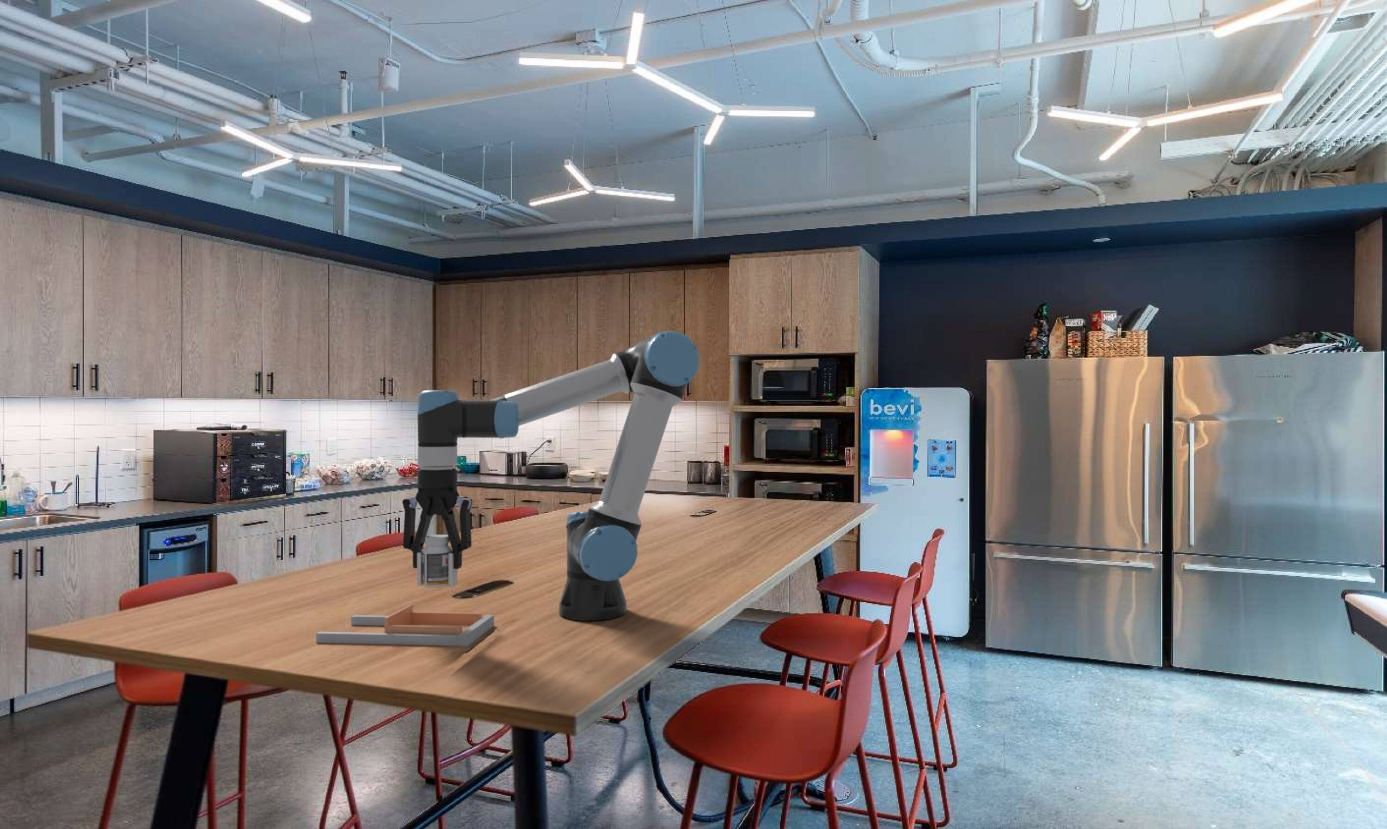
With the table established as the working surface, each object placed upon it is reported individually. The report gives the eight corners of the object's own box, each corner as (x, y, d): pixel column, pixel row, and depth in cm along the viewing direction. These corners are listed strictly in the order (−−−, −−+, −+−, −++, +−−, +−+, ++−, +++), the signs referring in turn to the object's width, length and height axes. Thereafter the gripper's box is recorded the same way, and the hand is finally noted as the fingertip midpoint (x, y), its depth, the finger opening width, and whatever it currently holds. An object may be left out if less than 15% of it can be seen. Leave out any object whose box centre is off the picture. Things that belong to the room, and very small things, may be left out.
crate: (481, 627, 167) (481, 605, 167) (461, 642, 156) (461, 619, 156) (409, 626, 168) (409, 604, 168) (384, 641, 157) (384, 617, 157)
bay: (493, 631, 169) (493, 614, 169) (467, 652, 154) (467, 634, 154) (354, 629, 171) (354, 612, 171) (315, 649, 156) (315, 631, 156)
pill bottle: (458, 584, 163) (458, 535, 163) (438, 590, 158) (438, 538, 158) (436, 582, 166) (436, 533, 166) (415, 587, 161) (416, 537, 161)
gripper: (489, 467, 165) (489, 582, 165) (400, 466, 167) (400, 580, 167) (476, 469, 157) (476, 589, 157) (383, 468, 159) (383, 587, 159)
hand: (437, 584), depth 162 cm, fingers closed on pill bottle, 6 cm apart
